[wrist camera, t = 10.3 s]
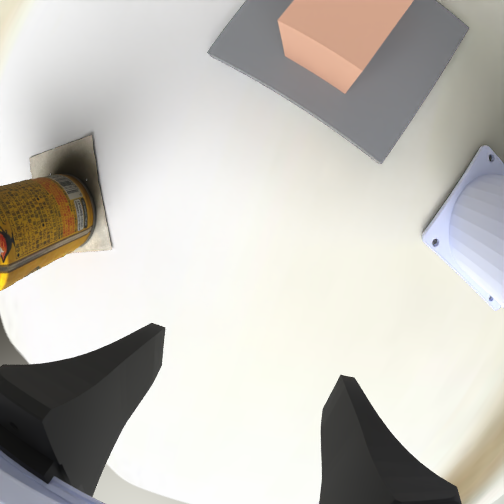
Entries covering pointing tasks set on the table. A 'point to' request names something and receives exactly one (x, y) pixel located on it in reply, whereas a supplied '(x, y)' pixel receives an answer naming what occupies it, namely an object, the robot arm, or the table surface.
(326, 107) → the plate
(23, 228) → the condiment
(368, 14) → the block
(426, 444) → the table surface
